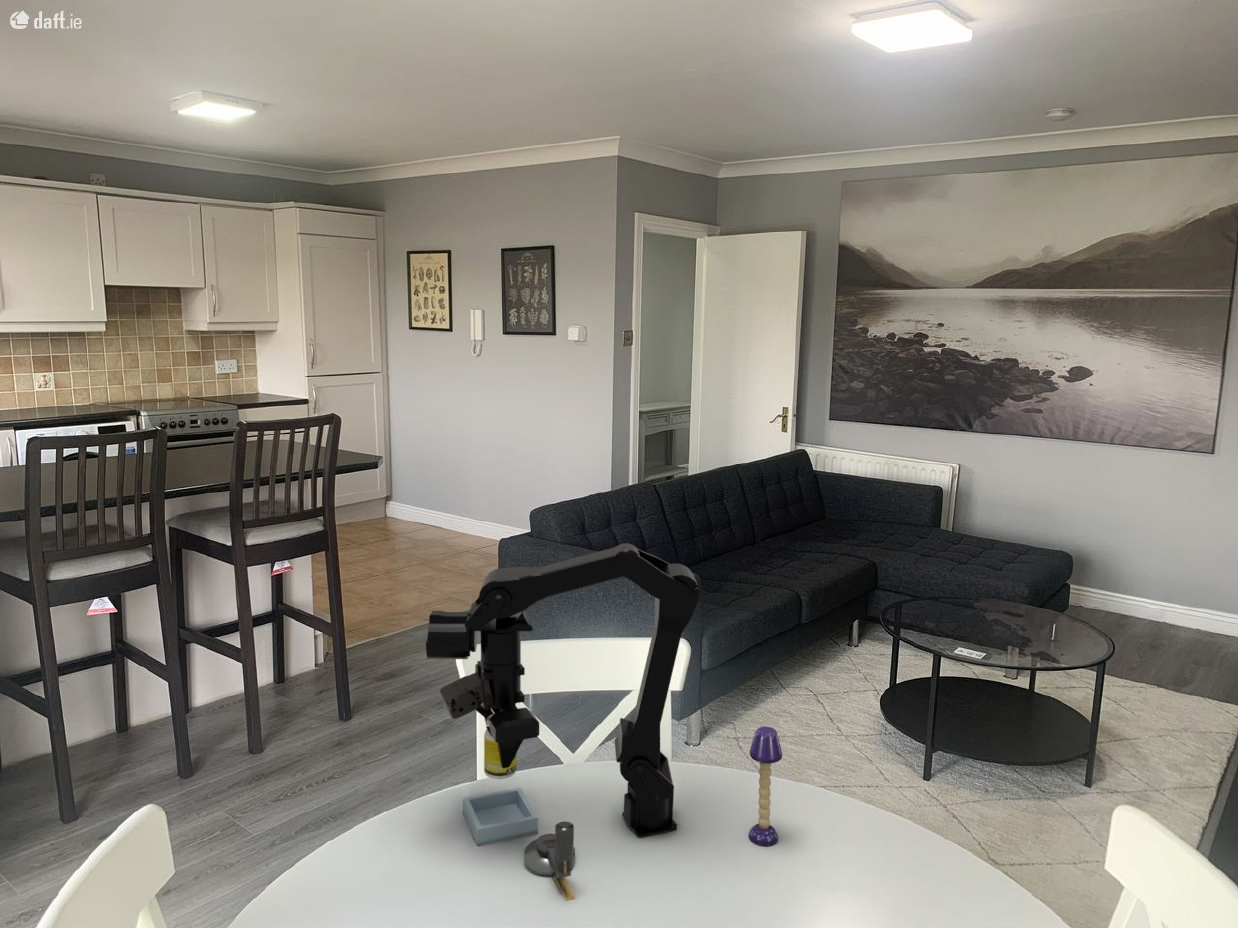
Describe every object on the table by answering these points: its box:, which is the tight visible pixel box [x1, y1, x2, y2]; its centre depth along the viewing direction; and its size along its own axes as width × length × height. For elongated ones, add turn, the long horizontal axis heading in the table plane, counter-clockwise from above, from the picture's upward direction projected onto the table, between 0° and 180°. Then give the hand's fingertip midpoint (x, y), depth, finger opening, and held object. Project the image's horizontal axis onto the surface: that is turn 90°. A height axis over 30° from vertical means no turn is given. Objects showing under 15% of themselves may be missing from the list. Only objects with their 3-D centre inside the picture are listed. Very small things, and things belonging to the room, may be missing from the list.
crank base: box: [523, 838, 576, 901], centre depth 122 cm, size 7×12×2 cm, turn 22°
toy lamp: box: [748, 725, 783, 847], centre depth 131 cm, size 5×5×17 cm
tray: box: [462, 787, 539, 847], centre depth 133 cm, size 9×9×2 cm
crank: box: [536, 821, 575, 878], centre depth 121 cm, size 10×4×7 cm, turn 21°
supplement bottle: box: [483, 714, 518, 780], centre depth 132 cm, size 5×5×8 cm
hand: (500, 759), depth 132 cm, fingers closed on supplement bottle, 5 cm apart
